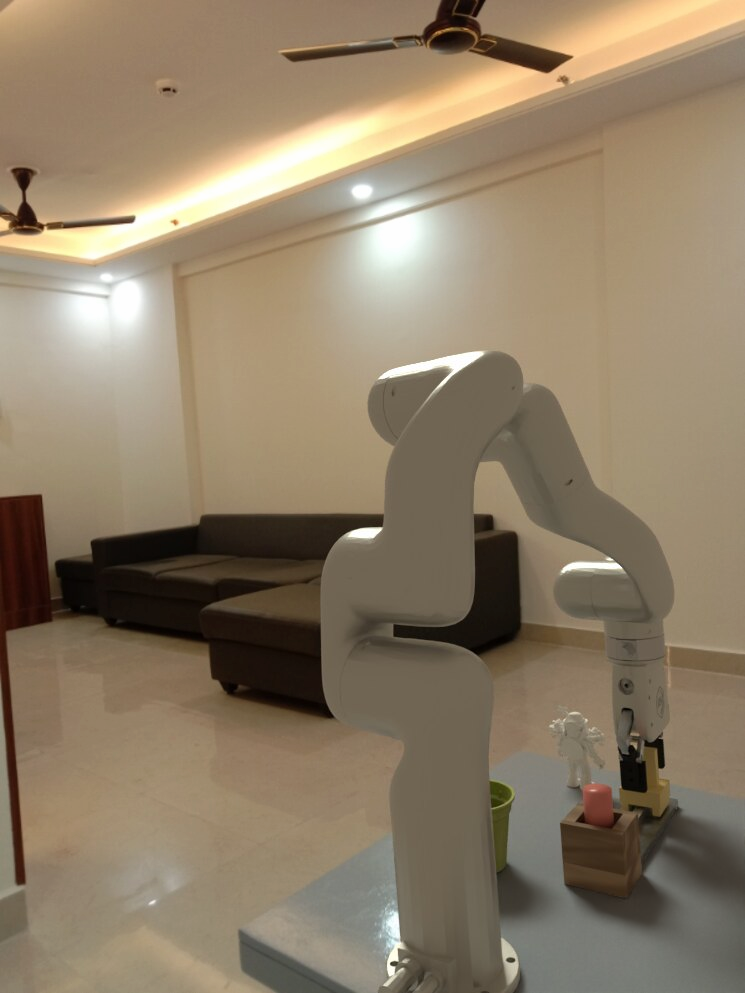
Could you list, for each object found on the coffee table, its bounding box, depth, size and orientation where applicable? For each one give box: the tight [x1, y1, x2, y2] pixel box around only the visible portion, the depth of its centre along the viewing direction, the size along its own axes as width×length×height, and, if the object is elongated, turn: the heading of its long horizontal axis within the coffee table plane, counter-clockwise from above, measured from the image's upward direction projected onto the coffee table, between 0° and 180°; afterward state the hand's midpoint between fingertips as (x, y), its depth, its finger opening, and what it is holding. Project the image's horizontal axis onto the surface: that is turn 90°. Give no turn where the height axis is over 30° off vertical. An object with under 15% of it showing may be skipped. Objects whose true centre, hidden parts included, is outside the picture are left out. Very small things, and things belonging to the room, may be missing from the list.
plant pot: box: [489, 779, 516, 874], centre depth 95 cm, size 9×9×9 cm
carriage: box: [618, 744, 671, 817], centre depth 105 cm, size 5×5×8 cm
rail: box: [618, 797, 679, 867], centre depth 101 cm, size 19×6×4 cm, turn 146°
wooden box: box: [559, 802, 643, 899], centre depth 90 cm, size 6×7×7 cm
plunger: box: [582, 783, 614, 829], centre depth 90 cm, size 3×3×5 cm
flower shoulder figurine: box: [548, 703, 606, 791], centre depth 116 cm, size 9×4×12 cm, turn 39°
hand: (643, 777), depth 105 cm, fingers open, 8 cm apart
